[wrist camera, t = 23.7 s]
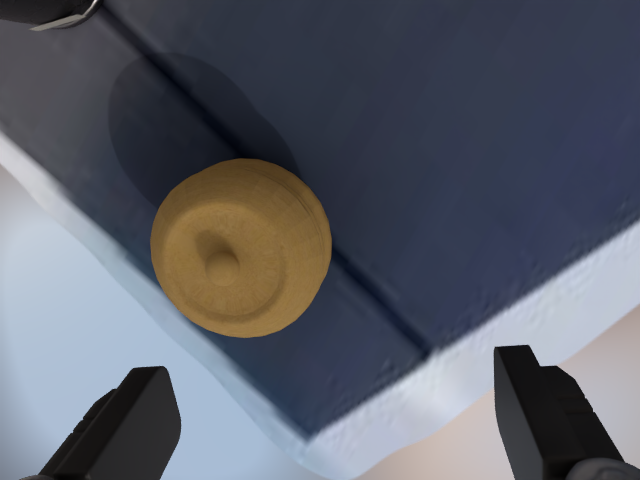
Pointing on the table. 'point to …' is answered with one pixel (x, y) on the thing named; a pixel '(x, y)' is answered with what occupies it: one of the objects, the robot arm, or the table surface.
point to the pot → (241, 247)
